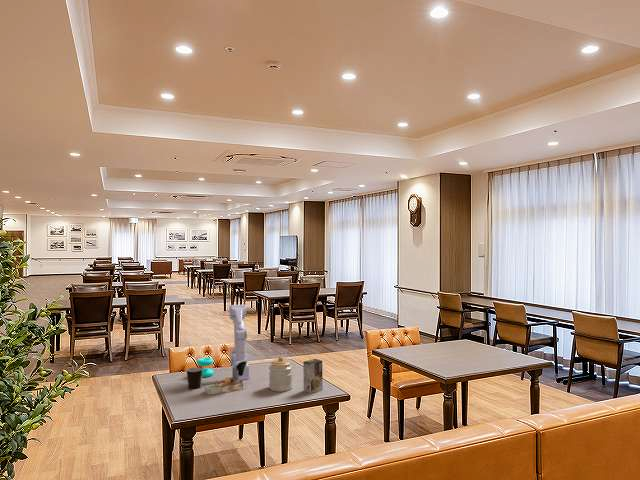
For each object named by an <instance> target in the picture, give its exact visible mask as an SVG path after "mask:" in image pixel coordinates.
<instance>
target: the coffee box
mask: <svg viewBox="0 0 640 480" xmlns="http://www.w3.org/2000/svg"><path fill="white" fill-rule="evenodd" d="M302 363H303V365H302V366H303V392H307V393H310V394H313V393H315V392H316V393H317V392H319V391H322V390H323V389H324V388H323V387H324V386H323V383H324V382H323V360H320V359H319V358H313V359H308V360H305V361H303V362H302Z"/></svg>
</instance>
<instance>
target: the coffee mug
mask: <svg viewBox="0 0 640 480" xmlns="http://www.w3.org/2000/svg"><path fill="white" fill-rule="evenodd" d="M202 369H203V368H202V367H189V368H188V369H186V375H187V376H186V378H187V383H188V384H187V385H188V389H190V390H197V389H200V388H201V384H202V378H203V377H202Z"/></svg>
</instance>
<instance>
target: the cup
mask: <svg viewBox="0 0 640 480" xmlns="http://www.w3.org/2000/svg"><path fill="white" fill-rule="evenodd" d="M204 392H205V393H206V394H207V395H209V396H211V395H212V396H213V395H216V394H222V393H221V387H218V388H217V384H216V383H214V384H209V385H205V386H204Z"/></svg>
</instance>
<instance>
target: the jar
mask: <svg viewBox="0 0 640 480" xmlns="http://www.w3.org/2000/svg"><path fill="white" fill-rule="evenodd" d="M291 363H292V362H291V361H289V359H285V358H284V357H283V356H279V357H278V358H277V359H274V360H272V361H271V362H270V366H269V367H268V368H269V372H268V375H269V377H268V378H269V381H268V382H269V383H268V387H269V390H270V391H273V392H278V393H279V392H281V393H282V392H288V391H290V390H292V388H293V371H292V368H293V366H292V364H291Z"/></svg>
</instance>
